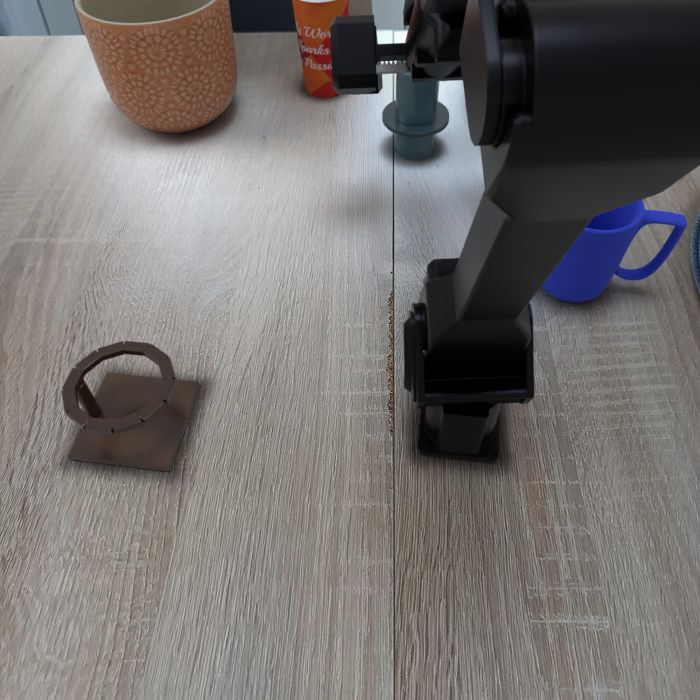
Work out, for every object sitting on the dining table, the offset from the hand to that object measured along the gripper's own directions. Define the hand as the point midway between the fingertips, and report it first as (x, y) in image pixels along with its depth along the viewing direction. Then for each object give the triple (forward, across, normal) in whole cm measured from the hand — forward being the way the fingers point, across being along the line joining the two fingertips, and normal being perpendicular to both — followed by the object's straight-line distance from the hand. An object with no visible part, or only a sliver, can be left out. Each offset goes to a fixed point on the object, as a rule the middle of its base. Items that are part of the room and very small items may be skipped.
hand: (424, 79), depth 67 cm
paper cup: (+23, +10, -6) cm, 26 cm away
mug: (-5, -15, +22) cm, 27 cm away
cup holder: (-15, +27, +31) cm, 44 cm away
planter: (+20, +30, -3) cm, 36 cm away
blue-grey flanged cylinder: (+12, 0, +4) cm, 13 cm away
